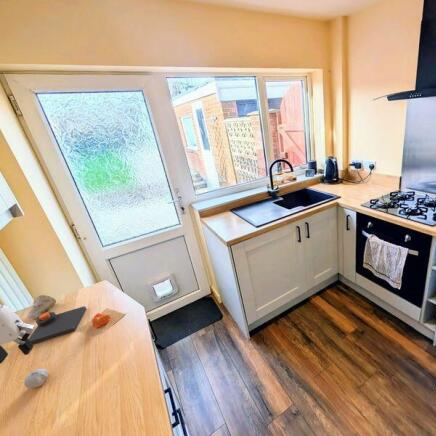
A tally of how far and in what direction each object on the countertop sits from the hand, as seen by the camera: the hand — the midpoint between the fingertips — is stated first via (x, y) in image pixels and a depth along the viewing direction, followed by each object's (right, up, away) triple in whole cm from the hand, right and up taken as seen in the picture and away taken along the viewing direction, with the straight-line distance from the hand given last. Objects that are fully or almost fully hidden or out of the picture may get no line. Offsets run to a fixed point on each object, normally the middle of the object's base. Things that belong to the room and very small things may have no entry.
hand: (16, 354), depth 73 cm
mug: (-28, -1, +36) cm, 46 cm away
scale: (-13, -4, +27) cm, 31 cm away
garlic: (+1, -12, +6) cm, 14 cm away
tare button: (-19, -1, +28) cm, 34 cm away
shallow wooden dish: (+5, -2, +27) cm, 28 cm away
